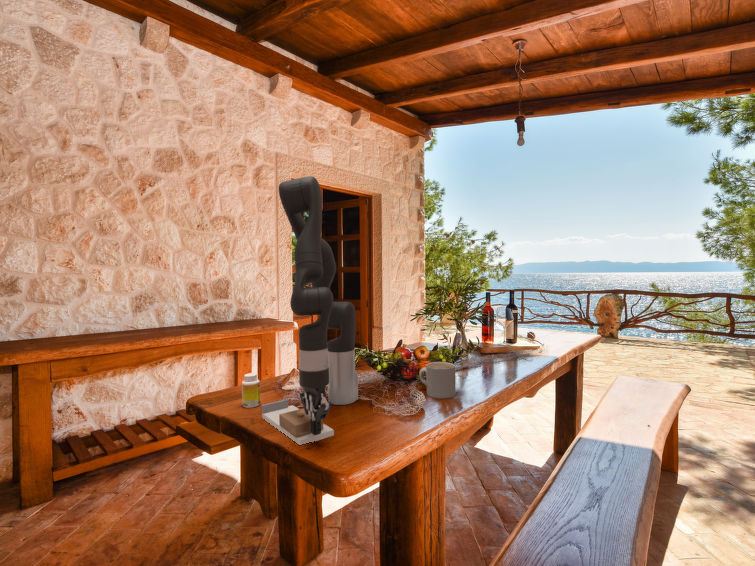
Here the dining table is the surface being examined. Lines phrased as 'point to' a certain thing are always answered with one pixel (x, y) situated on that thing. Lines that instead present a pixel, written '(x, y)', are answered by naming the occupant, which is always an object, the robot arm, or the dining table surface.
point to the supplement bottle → (250, 390)
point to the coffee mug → (439, 379)
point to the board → (272, 416)
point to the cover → (296, 422)
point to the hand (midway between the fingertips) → (316, 433)
